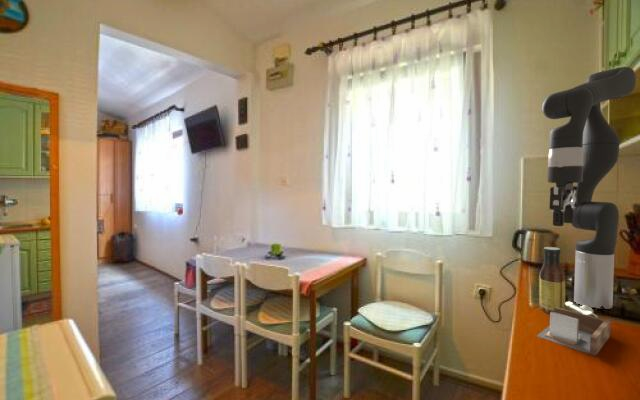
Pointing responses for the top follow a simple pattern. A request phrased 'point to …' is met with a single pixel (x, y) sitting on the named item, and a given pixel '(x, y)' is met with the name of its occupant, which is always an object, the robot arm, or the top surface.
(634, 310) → the top surface
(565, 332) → the aluminium bracket
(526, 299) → the top surface
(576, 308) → the pipe fitting
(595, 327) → the walnut corner walls
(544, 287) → the sauce bottle
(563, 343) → the grey base plate
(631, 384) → the top surface
